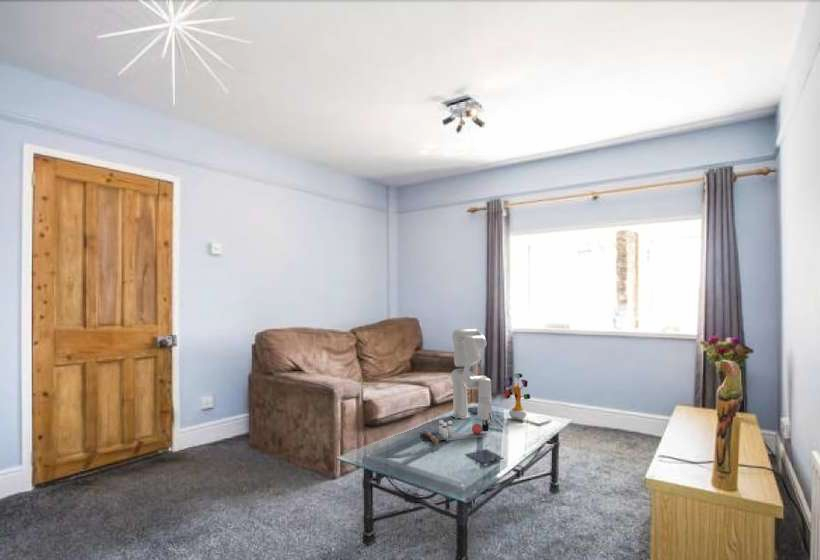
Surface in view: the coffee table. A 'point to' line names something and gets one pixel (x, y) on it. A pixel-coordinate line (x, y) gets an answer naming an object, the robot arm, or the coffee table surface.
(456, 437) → the lane
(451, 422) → the pin front
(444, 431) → the pin
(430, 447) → the coffee table surface
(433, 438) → the back wall
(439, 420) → the pin
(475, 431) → the ball
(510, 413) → the decorative sculpture
